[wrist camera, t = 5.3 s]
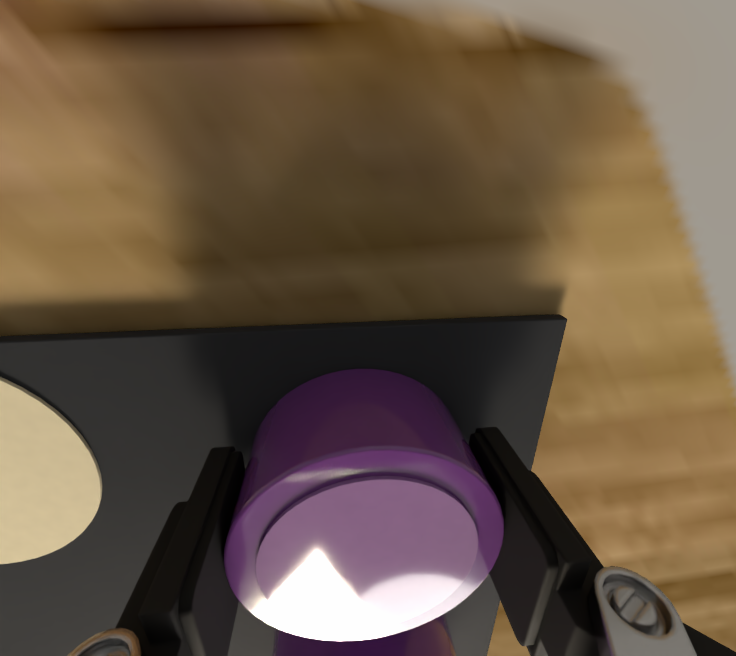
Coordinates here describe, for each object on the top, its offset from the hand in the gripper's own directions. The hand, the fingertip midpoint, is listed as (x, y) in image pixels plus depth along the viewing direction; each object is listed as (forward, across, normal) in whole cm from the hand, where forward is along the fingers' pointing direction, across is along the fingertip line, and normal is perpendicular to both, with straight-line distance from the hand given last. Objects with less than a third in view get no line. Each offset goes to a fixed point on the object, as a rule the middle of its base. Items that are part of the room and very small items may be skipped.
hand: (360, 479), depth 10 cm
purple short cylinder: (+1, 0, 0) cm, 1 cm away
